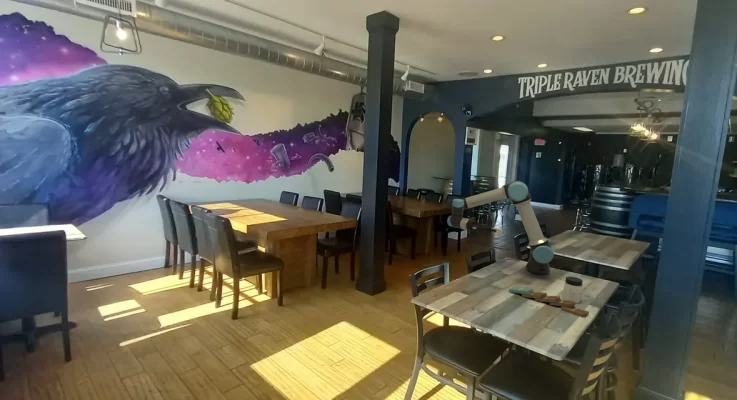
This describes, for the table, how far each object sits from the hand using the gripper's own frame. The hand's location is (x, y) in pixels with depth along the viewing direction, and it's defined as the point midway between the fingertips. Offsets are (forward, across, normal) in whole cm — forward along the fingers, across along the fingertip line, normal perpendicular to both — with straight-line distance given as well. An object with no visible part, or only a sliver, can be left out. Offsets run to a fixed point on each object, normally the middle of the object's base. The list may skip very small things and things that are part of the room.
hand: (501, 231), depth 226 cm
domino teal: (+16, +12, -29) cm, 35 cm away
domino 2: (+31, +12, -29) cm, 44 cm away
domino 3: (+37, +11, -29) cm, 49 cm away
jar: (+42, -4, -30) cm, 52 cm away
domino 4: (+44, +12, -30) cm, 54 cm away
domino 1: (+24, +12, -29) cm, 39 cm away
